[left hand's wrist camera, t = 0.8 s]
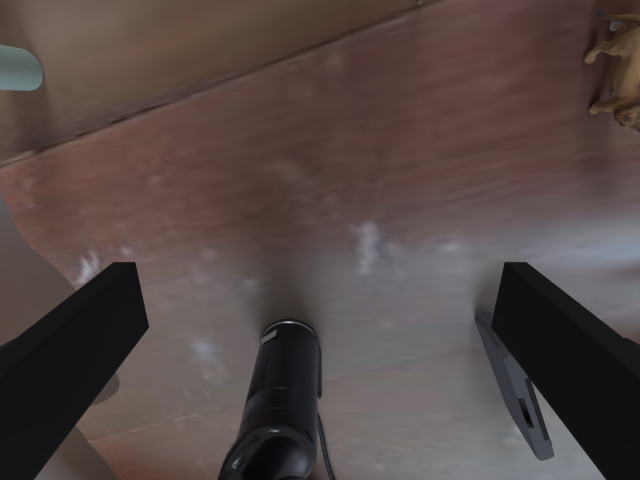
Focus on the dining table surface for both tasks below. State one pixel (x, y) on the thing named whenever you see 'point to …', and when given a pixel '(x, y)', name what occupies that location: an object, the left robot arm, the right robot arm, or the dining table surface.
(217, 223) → the dining table surface
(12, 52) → the green bottle
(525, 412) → the handheld gaming console
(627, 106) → the lion figurine
